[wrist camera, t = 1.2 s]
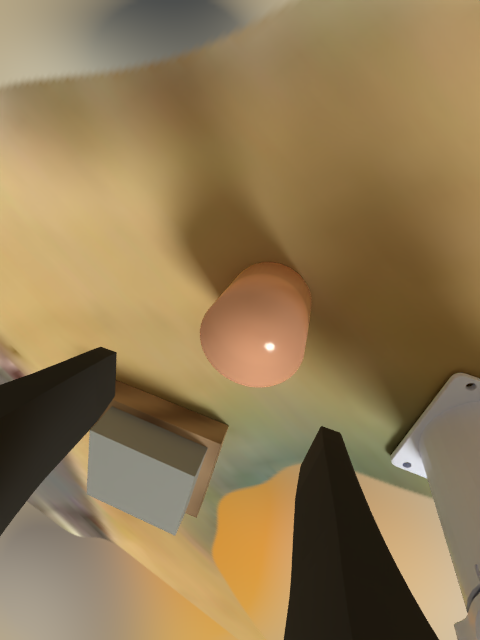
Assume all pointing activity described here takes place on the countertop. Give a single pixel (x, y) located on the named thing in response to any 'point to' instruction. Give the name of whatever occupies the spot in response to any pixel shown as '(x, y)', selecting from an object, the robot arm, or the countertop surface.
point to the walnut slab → (176, 430)
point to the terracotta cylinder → (259, 326)
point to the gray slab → (142, 468)
